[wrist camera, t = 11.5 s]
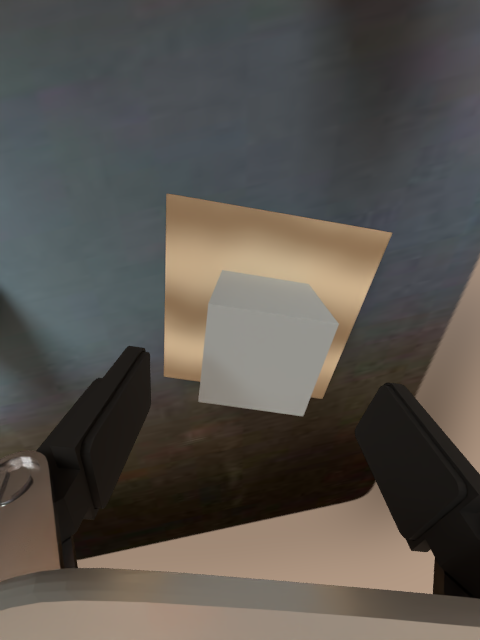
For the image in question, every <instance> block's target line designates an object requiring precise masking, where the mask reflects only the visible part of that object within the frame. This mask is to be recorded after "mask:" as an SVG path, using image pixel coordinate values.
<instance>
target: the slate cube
mask: <svg viewBox="0 0 480 640" xmlns="http://www.w3.org/2000/svg"><path fill="white" fill-rule="evenodd" d="M338 325H339V323H338V322H337V321H336V319H335V318H334V317H333V315H332V314H331V313H330V312H329V310H328V309H327V308H326V306H325V305H324V304H323V302H322V301H321V300H320V298H319V297H318V296H317V294H316V293H315V292H314V290H313V289H312V288H311V286H310V285H309V284H305V283H299V282H293V281H287V280H281V279H275V278H268V277H262V276H256V275H250V274H244V273H237V272H231V271H225V270H222V272H221V274H220V276H219V279H218V281H217V284H216V286H215V289H214V291H213V294H212V296H211V298H210V301H209V303H208V312H207V322H206V332H205V341H204V351H203V361H202V371H201V381H200V391H199V400H198V402H204V403H211V404H218V405H226V406H233V407H240V408H247V409H254V410H261V411H268V412H276V413H283V414H290V415H297V416H303V415H304V413H305V410H306V408H307V405H308V402H309V400H310V397H311V395H312V392H313V390H314V387H315V384H316V382H317V379H318V377H319V374H320V372H321V369H322V366H323V364H324V361H325V359H326V356H327V354H328V351H329V348H330V346H331V343H332V341H333V338H334V336H335V333H336V330H337V328H338Z"/></svg>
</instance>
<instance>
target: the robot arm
mask: <svg viewBox="0 0 480 640" xmlns="http://www.w3.org/2000/svg"><path fill="white" fill-rule="evenodd" d="M150 405H151V384H150V354H149V353H148V352H145V348H140V347H133V346H128V347H127V348H126V349H125V350H124V352H123V353H122V354H121V356H120V357H119V358H118V359H117V361H116V362H115V363H114V365H113V366H112V367H111V368H110V370H109V371H108V372H107V373H106V375H105V376H104V377H103V378H98V379H96V380H95V381H94V382H92V384H91V385H90V386H89V387H88V389H87V390H86V391H85V392H84V393H83V395H82V396H81V397H80V398H79V399H78V401H77V402H76V403H75V404H74V406H73V407H72V408H71V409H70V410H69V412H68V413H67V414H66V415H65V417H64V418H63V419H62V420H61V421H60V423H59V424H58V425H57V426H56V428H55V429H54V430H53V431H52V432H51V434H50V435H49V436H48V437H47V439H46V440H45V441H44V442H43V443H42V445H41V446H40V447H39V448H38V449H37V451H20V452H17V453H14V454H10V455H8V456H6V457H4V458H1V459H0V640H480V474H479V473H478V472H477V471H476V470H475V468H474V467H473V466H472V465H471V464H470V463H469V461H468V460H467V459H466V458H465V457H464V455H463V454H462V453H461V452H460V451H459V449H458V448H457V447H456V446H455V445H454V444H453V442H452V441H451V440H450V439H449V438H448V436H447V435H446V434H445V433H444V432H443V431H442V429H441V428H440V427H439V426H438V425H437V424H436V422H435V421H434V420H433V419H432V418H431V416H430V415H429V414H428V413H427V412H426V410H425V409H424V408H423V407H422V406H421V405H420V403H419V402H418V401H417V400H416V399H415V397H414V396H413V395H412V394H411V393H410V392H409V390H408V389H407V388H406V387H405V386H404V385H401V384H394V383H385V384H384V385H383V386H381V387H380V388H379V390H378V391H377V393H376V395H375V396H374V398H373V400H372V401H371V403H370V405H369V406H368V408H367V410H366V411H365V413H364V415H363V416H362V418H361V420H360V422H359V423H358V425H357V427H356V429H355V436H356V439H357V441H358V443H359V445H360V448H361V450H362V452H363V454H364V456H365V458H366V461H367V463H368V465H369V467H370V469H371V471H372V473H373V476H374V478H375V480H376V482H377V484H378V486H379V489H380V491H381V493H382V495H383V497H384V499H385V501H386V504H387V506H388V508H389V510H390V512H391V515H392V517H393V519H394V521H395V523H396V525H397V528H398V530H399V532H400V533H401V535H402V536H403V537H404V538H405V539H406V540H407V543H408V545H409V547H410V549H411V551H420V552H428V551H429V550H430V549H431V550H432V552H433V554H434V556H435V564H434V584H433V594H424V593H413V592H402V591H391V590H379V589H369V588H357V587H345V586H334V585H322V584H310V583H299V582H287V581H275V580H264V579H251V578H237V577H226V576H214V575H201V574H188V573H176V572H161V571H144V570H143V571H142V570H126V569H109V568H78V567H77V560H76V554H75V547H74V541H73V534H74V533H76V532H77V530H78V528H79V526H80V524H81V522H82V520H83V519H90V520H94V519H95V516H96V514H97V512H98V510H99V508H101V509H103V508H105V506H106V505H107V503H108V501H109V499H110V497H111V494H112V492H113V490H114V488H115V486H116V483H117V481H118V479H119V477H120V474H121V472H122V470H123V468H124V465H125V463H126V461H127V459H128V456H129V454H130V452H131V450H132V448H133V445H134V443H135V441H136V439H137V436H138V434H139V432H140V430H141V427H142V425H143V423H144V421H145V418H146V416H147V414H148V412H149V409H150Z"/></svg>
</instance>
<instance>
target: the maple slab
mask: <svg viewBox="0 0 480 640" xmlns="http://www.w3.org/2000/svg"><path fill="white" fill-rule="evenodd" d="M391 235H392V233H390V232H385V231H380V230H374V229H369V228H363V227H357V226H351V225H346V224H340V223H334V222H328V221H323V220H317V219H311V218H306V217H300V216H294V215H288V214H283V213H277V212H271V211H265V210H260V209H254V208H248V207H242V206H237V205H231V204H225V203H219V202H214V201H208V200H202V199H197V198H191V197H185V196H179V195H173V194H167V195H166V267H165V338H164V377H171V378H178V379H185V380H192V381H199V382H200V381H201V371H202V361H203V351H204V341H205V332H206V322H207V312H208V303H209V301H210V298H211V296H212V294H213V291H214V289H215V286H216V284H217V281H218V279H219V276H220V274H221V272H222V270H225V271H231V272H237V273H244V274H250V275H256V276H262V277H268V278H275V279H281V280H287V281H293V282H299V283H305V284H309V285H310V286H311V288H312V289H313V290H314V292H315V293H316V294H317V296H318V297H319V298H320V300H321V301H322V302H323V304H324V305H325V306H326V308H327V309H328V310H329V312H330V313H331V314H332V315H333V317H334V318H335V319H336V321H337V322H338V323H339V325H338V328H337V330H336V333H335V336H334V338H333V341H332V343H331V346H330V348H329V351H328V354H327V356H326V359H325V361H324V364H323V366H322V369H321V372H320V374H319V377H318V379H317V382H316V384H315V387H314V390H313V392H312V395H311V397H313V398H320V399H322V398H323V396H324V394H325V391H326V389H327V387H328V384H329V382H330V380H331V377H332V375H333V372H334V370H335V368H336V365H337V363H338V361H339V358H340V356H341V353H342V351H343V349H344V346H345V344H346V342H347V339H348V337H349V334H350V332H351V330H352V327H353V325H354V323H355V320H356V318H357V315H358V313H359V311H360V308H361V306H362V304H363V301H364V299H365V296H366V294H367V292H368V289H369V287H370V285H371V282H372V280H373V278H374V275H375V273H376V270H377V268H378V266H379V263H380V261H381V259H382V256H383V254H384V251H385V249H386V247H387V244H388V242H389V240H390V237H391Z"/></svg>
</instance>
